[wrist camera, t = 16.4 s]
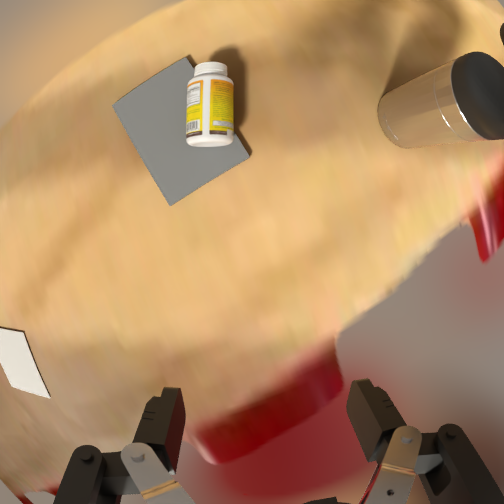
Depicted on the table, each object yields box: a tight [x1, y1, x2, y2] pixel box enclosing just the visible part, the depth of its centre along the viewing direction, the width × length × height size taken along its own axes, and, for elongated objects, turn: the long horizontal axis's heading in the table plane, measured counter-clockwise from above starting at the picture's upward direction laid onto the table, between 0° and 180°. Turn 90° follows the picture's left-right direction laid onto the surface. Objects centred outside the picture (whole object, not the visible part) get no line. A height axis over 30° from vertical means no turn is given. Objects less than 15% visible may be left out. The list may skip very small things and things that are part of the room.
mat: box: [112, 57, 250, 206], centre depth 34 cm, size 12×17×1 cm
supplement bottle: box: [186, 62, 233, 147], centre depth 31 cm, size 6×6×10 cm
